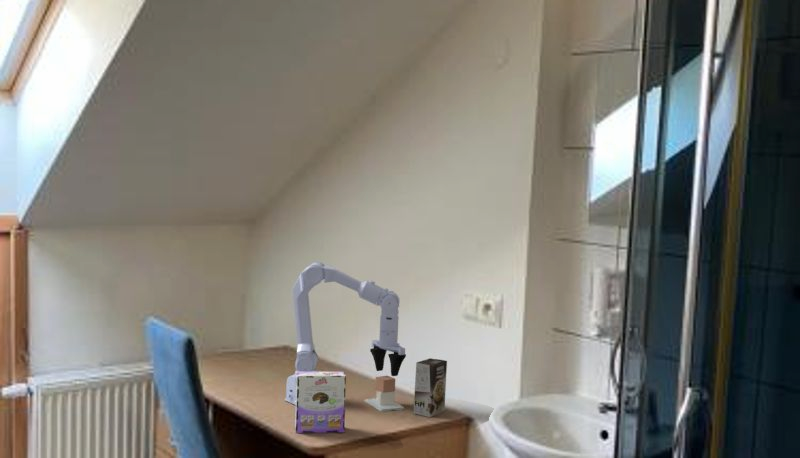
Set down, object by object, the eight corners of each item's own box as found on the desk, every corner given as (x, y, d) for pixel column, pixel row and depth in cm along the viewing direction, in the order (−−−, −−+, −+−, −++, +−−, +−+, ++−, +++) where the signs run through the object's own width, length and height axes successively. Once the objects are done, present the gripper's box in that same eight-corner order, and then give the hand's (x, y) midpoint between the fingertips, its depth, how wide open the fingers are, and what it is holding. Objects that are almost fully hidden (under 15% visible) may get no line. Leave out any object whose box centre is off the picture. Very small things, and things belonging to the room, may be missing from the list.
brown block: (383, 392, 265) (383, 380, 265) (375, 389, 269) (375, 377, 269) (394, 391, 268) (395, 378, 268) (386, 387, 272) (387, 375, 271)
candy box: (342, 426, 244) (344, 370, 243) (344, 433, 238) (346, 375, 237) (294, 427, 242) (296, 370, 241) (295, 433, 236) (297, 375, 235)
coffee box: (430, 417, 257) (433, 365, 256) (412, 413, 261) (415, 362, 260) (445, 411, 265) (448, 360, 264) (427, 407, 268) (430, 357, 267)
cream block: (380, 405, 266) (380, 392, 266) (376, 401, 270) (376, 388, 270) (393, 404, 267) (394, 392, 267) (389, 400, 271) (390, 388, 271)
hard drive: (364, 399, 272) (381, 409, 261) (387, 396, 276) (404, 406, 265) (364, 404, 273) (381, 414, 262) (387, 401, 276) (404, 411, 265)
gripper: (413, 333, 264) (411, 376, 265) (384, 325, 275) (382, 366, 276) (395, 335, 259) (393, 379, 260) (367, 327, 270) (365, 369, 271)
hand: (386, 373), depth 268 cm, fingers open, 7 cm apart
